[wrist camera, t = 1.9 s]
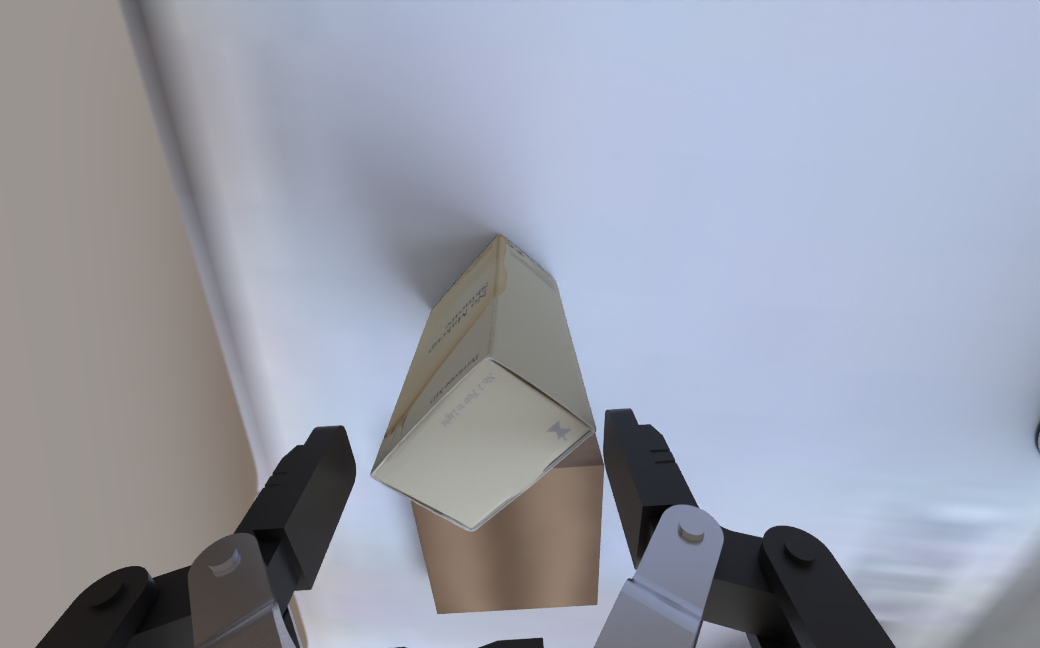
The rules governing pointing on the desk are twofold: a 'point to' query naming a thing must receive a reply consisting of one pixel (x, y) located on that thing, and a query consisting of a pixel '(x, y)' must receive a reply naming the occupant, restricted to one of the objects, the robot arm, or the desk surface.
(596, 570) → the walnut stand
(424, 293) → the desk surface
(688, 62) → the desk surface
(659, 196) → the desk surface
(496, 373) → the skincare box
